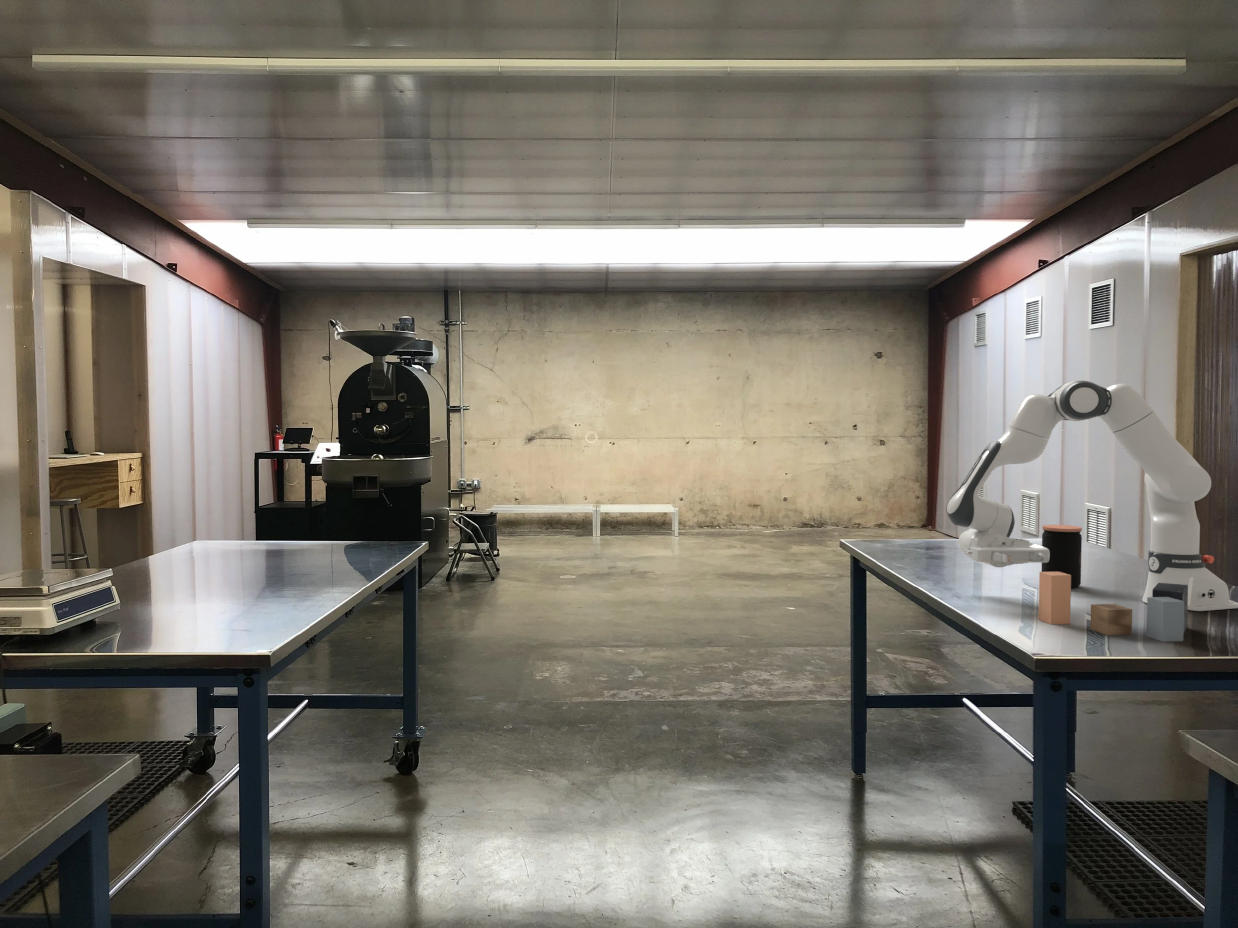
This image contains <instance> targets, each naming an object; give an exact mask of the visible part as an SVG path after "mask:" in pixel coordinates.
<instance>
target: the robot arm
mask: <svg viewBox="0 0 1238 928" xmlns="http://www.w3.org/2000/svg"><path fill="white" fill-rule="evenodd" d="M1020 402H1021V403H1020V404H1019V405H1018V407H1017V409H1016V410H1015V412H1014V414H1013V415H1012V417H1011V420H1010V422H1009V424H1008V426H1007V429H1006V430H1005V432H1004V433H1003V434H1002V436H1000V437H999V438H998V439H997V440H995V441H990V442H989V443H988V444H987V445H986V446H985V448H984V449H983V450H982V452H981V453H980V455H979V456H978V458H977V459H976V461H975V463H974V464H973V465H972V468H971V469H970V470H969V472H968V473H967V475H966V477H965V478H964V480H963V482H962V483H961V484H960V486H959V488H957V490H956V491H955V492H954V493H953V494H952V496H951V497H950V499H949V500H948V502H947V504H946V509H945V510H946V514H947V517H948V518H949V520H950V522H951V523H952V524H953V525H954V526H959V527H962V528H968V529H967V530H965V531H963V532H962V533H961V534H960V535H959V537H958V540H957V541H958V547H959V549H960V551H961V552H962V554H963V555H964V556H966V557H967V558H969V559H971V560H973V561H975V562H978V563H984V564H985V565H987V566H988V565H989V566H992V567H995V568H1004V567H1009V566H1012V565H1018V564H1019V565H1020V564H1022V565H1023V564H1029V563H1032V564H1033V563H1037V564H1038V563H1039V564H1040V563H1041V564H1042V563H1047V562H1049V558H1050V551H1049V549H1047V548H1045V547H1042V545H1040V544H1039V545H1038V544H1035V543H1031V542H1030V540H1028V539H1022V538H1021V539H1020V538H1014V537H1013V538H1012V537H1010V536H1011V535H1012V533H1013V531H1014V528H1015V521H1016V520H1015V515H1014V512H1013V510H1012V508H1011V506H1010V505H1008V504H1004V503H1002V502H999V501H996V500H992V499H989V498H986V497H983V496H980V495H979V493H980V491H981V490H982V489H983V487H984V485H985V484H986V482H987V480H988V478H989V477H990V475H991V474H992V473H993V471H994V470H996V469H997V468H999V467H1003V466H1006V465H1022V464H1027V463H1031V462H1033V461H1035V460H1037V459H1038V458H1039V457H1041V455H1043V453H1044V451H1045V449H1046V447H1047V446H1048V442H1049V439H1050V437H1051V435H1052V432H1053V430H1054V428H1056V426H1057V424H1058V423H1059V422H1061V421H1073V422H1080V421H1086V420H1091V419H1093V418H1094V419H1095V418H1097V417H1098V418H1099V419H1101V420H1102V421H1103V422H1104V423H1106V424H1107V426H1108V428H1109V429H1110V431H1111V433H1112V434H1113V435H1114V436H1115V438H1116V439H1117V440H1118V441H1119V443H1120V445H1121V446H1122V447H1123V449H1124V450H1125V451H1126V453H1127V454H1128V455H1129V457H1130V458H1132V460H1133V461H1135V463H1136V464H1138V466H1139V467H1140V468H1141V469H1142V470H1143V471H1144V472H1145V474H1144V476H1143V477H1144V478H1143V479H1144V481H1143V482H1144V484H1145V488H1146V495H1147V496H1146V497H1147V505H1148V511H1149V518H1150V519H1149V520H1150V541H1149V542H1150V545H1149V546H1150V547H1149V550H1148V552H1147V553H1148V554H1147V555H1148V556H1147V564H1148V576H1147V580H1146V581H1147V582H1146V586H1145V590H1144V594H1143V597H1142V598H1141V601H1142V602H1143V603H1146V604H1147V597H1152V591H1153V588H1154V587H1155V586H1156V585H1157V584H1158V583H1170V584H1183V585H1188V606H1187V607H1188V611H1193V612H1205V611H1206V612H1207V611H1217V610H1218V611H1219V610H1228V609H1229V610H1231V609H1238V602H1237V601H1234V600H1232V599H1231V600H1230V592H1229V587H1228V585H1227V583H1226V582H1225V581H1224V580H1223V579H1221V578H1219V577H1218V576H1217V575H1215V574H1214V573H1213V572H1212V571H1210V570H1209V569H1208V568H1206V564H1205V563H1208V564H1213V563H1214V561H1215V557H1214V556H1212V555H1208V554H1205V555H1202V554H1201V552H1200V541H1201V539H1200V538H1201V537H1200V535H1201V534H1200V533H1201V525H1200V522H1199V518H1198V515H1197V511H1196V505H1195V502H1197V501H1199V500H1202V499H1203V498H1204V497H1206V496H1207V495H1208V493H1209V492H1210V490H1211V488H1212V478H1211V476H1210V474H1209V473H1208V472H1207V470H1205V468H1203V466H1201V464H1199V462H1198V461H1197V460H1196V459H1195V458H1194V457H1193V456H1192V455H1191V453H1190V452H1188V451H1187V449H1186V448H1185V447H1183V445H1182V444H1181V443H1180V442H1179V441H1178V440H1177V439H1176V438H1175V437H1174V436H1173V435H1172V434H1171V432H1170V431H1169V430H1168V429H1167V427H1166V425H1164V423H1163V422H1162V419H1160V417H1159V416H1158V415H1157V413H1156V412H1155V411H1154V410H1153V408H1152V407H1151V406H1150V405H1149V403H1148V402H1147V401H1146V400H1145V399H1144V397H1142V396H1141V395H1140V394H1139V392H1137V391H1136V389H1134V388H1133V387H1132V386H1130V385H1129V384H1127V383H1116V384H1115V383H1114V384H1113V385H1109V386H1107V387H1104V386H1100V385H1099V384H1097V383H1094V382H1093V381H1087V380H1073V381H1072V380H1071V381H1069V382H1066V383H1065V384H1062V385H1061V386H1059V387H1058V388H1056V389H1055V390H1054V391H1052V392H1051V393H1050V394H1048V395H1044V394H1037V393H1036V394H1030V395H1027V396H1025V397H1024V398H1023V400H1022V401H1020Z"/></svg>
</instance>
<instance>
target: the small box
mask: <svg viewBox="0 0 1238 928" xmlns="http://www.w3.org/2000/svg"><path fill="white" fill-rule="evenodd" d="M1152 597H1170V598H1174V599H1177V600H1181V601H1184V634H1185V633H1186V631H1187V629H1188V628H1189V626H1188V625H1189V624H1188V621H1189V620H1188V618H1189V617H1188V615H1189V614H1188V611H1189V610H1188V607H1187V606H1188V585H1183V584H1170V583H1158V584H1157V585H1156V586H1155V587H1154V588H1153V591H1152Z"/></svg>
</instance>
